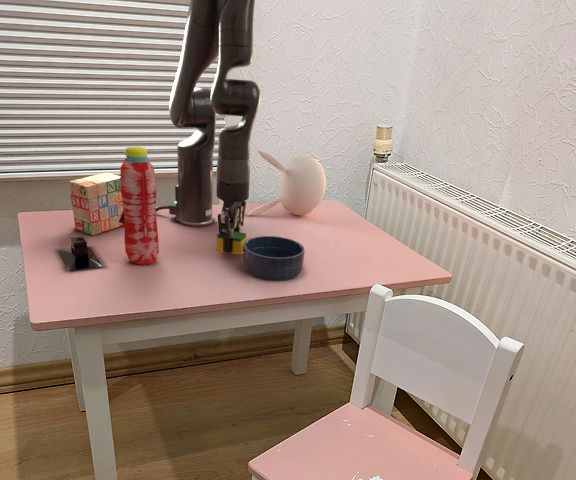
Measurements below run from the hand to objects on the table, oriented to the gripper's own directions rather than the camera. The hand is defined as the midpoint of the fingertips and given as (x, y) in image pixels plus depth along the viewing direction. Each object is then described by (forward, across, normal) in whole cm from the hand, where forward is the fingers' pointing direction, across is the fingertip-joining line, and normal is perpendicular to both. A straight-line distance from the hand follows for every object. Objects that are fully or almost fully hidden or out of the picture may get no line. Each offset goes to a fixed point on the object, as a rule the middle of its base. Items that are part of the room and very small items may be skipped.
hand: (231, 248), depth 141 cm
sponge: (0, 0, 0) cm, 0 cm away
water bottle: (+2, +12, -18) cm, 22 cm away
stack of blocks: (+2, -7, -35) cm, 36 cm away
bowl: (+2, +4, +12) cm, 13 cm away
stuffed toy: (+2, -38, +5) cm, 38 cm away
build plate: (+2, +18, -30) cm, 35 cm away
